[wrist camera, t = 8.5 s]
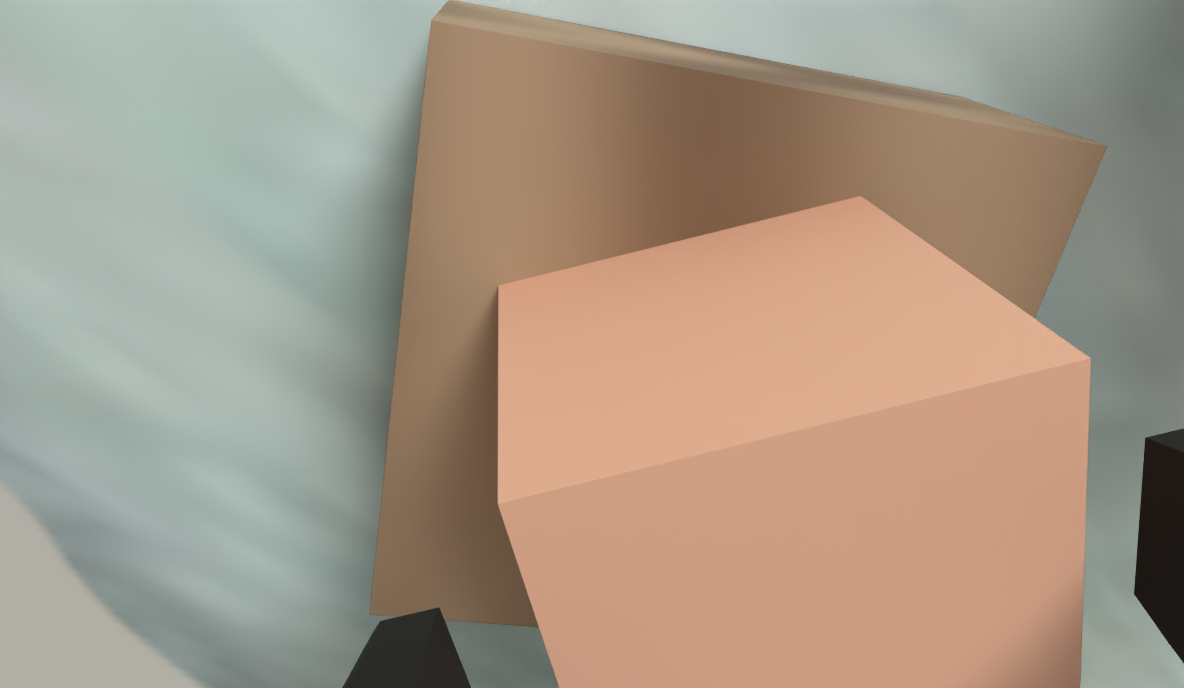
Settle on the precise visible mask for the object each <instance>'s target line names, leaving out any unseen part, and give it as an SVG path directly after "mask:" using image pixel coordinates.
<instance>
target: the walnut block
mask: <svg viewBox="0 0 1184 688" xmlns="http://www.w3.org/2000/svg"><path fill="white" fill-rule="evenodd" d="M1106 148H1107V146H1105V145H1102V144H1099V143H1096V142H1093V141H1090V140H1087V139H1085V138H1082V137H1079V136H1076V135H1073V134H1070V133H1067V132H1064V131H1061V130H1058V129H1055V128H1052V127H1049V126H1046V125H1043V124H1040V123H1037V122H1034V121H1031V120H1028V119H1025V118H1022V117H1019V116H1016V115H1013V114H1010V113H1008V112H1005V111H1002V110H999V109H996V108H993V107H990V106H987V105H984V104H981V103H978V102H975V101H972V100H969V99H966V98H963V97H958V96H952V95H947V94H942V93H937V92H931V91H926V90H921V89H916V88H910V87H905V86H900V85H895V84H889V83H884V82H879V81H874V80H868V79H863V78H858V77H853V76H847V75H842V74H837V73H832V72H826V71H821V70H816V69H811V68H806V67H800V66H795V65H790V64H785V63H779V62H774V61H769V60H764V59H758V58H753V57H748V56H743V55H737V54H732V53H727V52H722V51H716V50H711V49H706V48H701V47H695V46H690V45H685V44H680V43H674V42H669V41H664V40H659V39H653V38H648V37H643V36H638V35H632V34H627V33H622V32H617V31H611V30H606V29H601V28H596V27H590V26H585V25H580V24H575V23H570V22H564V21H559V20H554V19H549V18H543V17H538V16H533V15H528V14H522V13H517V12H512V11H507V10H501V9H496V8H491V7H486V6H480V5H475V4H470V3H465V2H459V1H454V0H448V2H447V3H446V4H445V5H444V6H443V7H442V9H441V10H440V11H439V12H438V13H437V14H436V16H435V17H434V18H433V19H432V20H431V29H430V38H429V48H428V58H427V67H426V77H425V86H424V96H423V105H422V115H421V125H420V134H419V144H418V153H417V163H416V173H415V182H414V192H413V201H412V211H411V221H410V230H409V240H408V249H407V259H406V269H405V278H404V288H403V297H402V307H401V317H400V326H399V336H398V345H397V355H396V365H395V374H394V384H393V393H392V403H391V413H390V422H389V432H388V441H387V451H386V461H385V470H384V480H383V489H382V499H381V509H380V518H379V528H378V537H377V547H376V556H375V566H374V576H373V585H372V595H371V604H370V615H384V616H397V617H400V616H404V615H409V614H413V613H417V612H421V611H425V610H429V609H434V608H438V607H439V608H440V610H441V613H442V615H443V618H444V620H451V621H464V622H478V623H491V624H505V625H518V626H532V627H539V626H538V623H537V620H536V617H535V614H534V611H533V608H532V605H531V602H530V599H529V596H528V593H527V590H526V587H525V584H524V581H523V578H522V575H521V572H520V569H519V566H518V563H517V560H516V557H515V554H514V551H513V548H512V545H511V542H510V539H509V536H508V533H507V530H506V527H505V524H504V521H503V518H502V515H501V512H500V509H499V506H498V286H499V285H503V284H507V283H511V282H515V281H519V280H523V279H527V278H531V277H535V276H540V275H544V274H548V273H552V272H556V271H560V270H564V269H568V268H572V267H576V266H580V265H584V264H588V263H592V262H596V261H600V260H604V259H608V258H612V257H616V256H620V255H624V254H628V253H632V252H636V251H640V250H645V249H649V248H653V247H657V246H661V245H665V244H669V243H673V242H677V241H681V240H685V239H689V238H693V237H697V236H701V235H705V234H709V233H713V232H717V231H721V230H725V229H729V228H733V227H737V226H741V225H745V224H750V223H754V222H758V221H762V220H766V219H770V218H774V217H778V216H782V215H786V214H790V213H794V212H798V211H802V210H806V209H810V208H814V207H818V206H822V205H826V204H830V203H834V202H838V201H842V200H846V199H851V198H855V197H859V196H862V197H863V198H864V199H866V200H867V201H869V202H870V203H872V204H873V205H874V206H876V207H877V208H879V209H880V210H881V211H883V212H884V213H886V214H887V215H889V216H890V217H891V218H893V219H894V220H896V221H897V222H898V223H900V224H901V225H903V226H904V227H906V228H907V229H908V230H910V231H911V232H913V233H914V234H915V235H917V236H918V237H920V238H921V239H923V240H924V241H925V242H927V243H928V244H930V245H931V246H933V247H934V248H935V249H937V250H938V251H940V252H941V253H942V254H944V255H945V256H947V257H948V258H950V259H951V260H952V261H954V262H955V263H957V264H958V265H959V266H961V267H962V268H964V269H965V270H967V271H968V272H969V273H971V274H972V275H974V276H975V277H976V278H978V279H979V280H981V281H982V282H984V283H985V284H986V285H988V286H989V287H991V288H992V289H993V290H995V291H996V292H998V293H999V294H1001V295H1002V296H1003V297H1005V298H1006V299H1008V300H1009V301H1010V302H1012V303H1013V304H1015V305H1016V306H1018V307H1019V308H1020V309H1022V310H1023V311H1025V312H1026V313H1027V314H1029V315H1030V316H1032V317H1033V318H1035V316H1036V313H1037V311H1038V309H1039V306H1040V304H1041V302H1042V299H1043V297H1044V294H1045V292H1046V290H1047V287H1048V285H1049V283H1050V280H1051V278H1052V276H1053V273H1054V271H1055V269H1056V266H1057V264H1058V261H1059V259H1060V257H1061V254H1062V252H1063V250H1064V247H1065V245H1066V243H1067V240H1068V238H1069V236H1070V233H1071V231H1072V228H1073V226H1074V224H1075V221H1076V219H1077V217H1078V214H1079V212H1080V210H1081V207H1082V205H1083V203H1084V200H1085V198H1086V195H1087V193H1088V191H1089V188H1090V186H1091V184H1092V181H1093V179H1094V177H1095V174H1096V172H1097V170H1098V167H1099V165H1100V162H1101V160H1102V158H1103V155H1104V153H1105V151H1106Z"/></svg>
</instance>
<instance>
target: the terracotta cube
mask: <svg viewBox="0 0 1184 688" xmlns="http://www.w3.org/2000/svg"><path fill="white" fill-rule="evenodd" d="M1090 371H1091V358H1090V357H1088V356H1087V355H1086V354H1084V353H1083V352H1081V351H1080V350H1078V349H1077V348H1076V347H1074V346H1073V345H1071V344H1070V343H1069V342H1067V341H1066V340H1064V339H1063V338H1061V337H1060V336H1059V335H1057V334H1056V333H1054V332H1053V331H1052V330H1050V329H1049V328H1047V327H1046V326H1044V325H1043V324H1042V323H1040V322H1039V321H1037V320H1036V319H1035V318H1033V317H1032V316H1030V315H1029V314H1027V313H1026V312H1025V311H1023V310H1022V309H1020V308H1019V307H1018V306H1016V305H1015V304H1013V303H1012V302H1010V301H1009V300H1008V299H1006V298H1005V297H1003V296H1002V295H1001V294H999V293H998V292H996V291H995V290H993V289H992V288H991V287H989V286H988V285H986V284H985V283H984V282H982V281H981V280H979V279H978V278H976V277H975V276H974V275H972V274H971V273H969V272H968V271H967V270H965V269H964V268H962V267H961V266H959V265H958V264H957V263H955V262H954V261H952V260H951V259H950V258H948V257H947V256H945V255H944V254H942V253H941V252H940V251H938V250H937V249H935V248H934V247H933V246H931V245H930V244H928V243H927V242H925V241H924V240H923V239H921V238H920V237H918V236H917V235H915V234H914V233H913V232H911V231H910V230H908V229H907V228H906V227H904V226H903V225H901V224H900V223H898V222H897V221H896V220H894V219H893V218H891V217H890V216H889V215H887V214H886V213H884V212H883V211H881V210H880V209H879V208H877V207H876V206H874V205H873V204H872V203H870V202H869V201H867V200H866V199H864V198H863V197H862V196H859V197H855V198H851V199H846V200H842V201H838V202H834V203H830V204H826V205H822V206H818V207H814V208H810V209H806V210H802V211H798V212H794V213H790V214H786V215H782V216H778V217H774V218H770V219H766V220H762V221H758V222H754V223H750V224H745V225H741V226H737V227H733V228H729V229H725V230H721V231H717V232H713V233H709V234H705V235H701V236H697V237H693V238H689V239H685V240H681V241H677V242H673V243H669V244H665V245H661V246H657V247H653V248H649V249H645V250H640V251H636V252H632V253H628V254H624V255H620V256H616V257H612V258H608V259H604V260H600V261H596V262H592V263H588V264H584V265H580V266H576V267H572V268H568V269H564V270H560V271H556V272H552V273H548V274H544V275H540V276H535V277H531V278H527V279H523V280H519V281H515V282H511V283H507V284H503V285H499V286H498V506H499V509H500V512H501V515H502V518H503V521H504V524H505V527H506V530H507V533H508V536H509V539H510V542H511V545H512V548H513V551H514V554H515V557H516V560H517V563H518V566H519V569H520V572H521V575H522V578H523V581H524V584H525V587H526V590H527V593H528V596H529V599H530V602H531V605H532V608H533V611H534V614H535V617H536V620H537V623H538V626H539V629H540V632H541V635H542V638H543V641H544V644H545V647H546V650H547V653H548V656H549V659H550V662H551V665H552V668H553V671H554V674H555V677H556V680H557V683H558V686H559V688H1080V679H1081V648H1082V617H1083V587H1084V556H1085V525H1086V494H1087V463H1088V432H1089V401H1090Z"/></svg>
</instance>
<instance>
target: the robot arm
mask: <svg viewBox="0 0 1184 688" xmlns="http://www.w3.org/2000/svg"><path fill="white" fill-rule="evenodd" d="M1134 594H1135V596H1136V597H1137V599H1138V600H1139V602H1140V603H1141V604H1142V606H1143V607H1144V609H1145V610H1146V611H1147V613H1148V614H1149V616H1150V617H1151V619H1152V620H1153V621H1154V623H1155V624H1156V626H1157V627H1158V629H1159V630H1160V631H1161V633H1162V634H1163V636H1164V637H1165V638H1166V640H1167V641H1168V643H1169V644H1170V645H1171V647H1172V648H1173V649H1174V651H1175V652H1176V653H1177V655H1178V656H1179V657H1180V659H1181V660H1182V661H1183V663H1184V429H1180V430H1176V431H1171V432H1167V433H1163V434H1159V435H1155V436H1151V437H1146V438H1145V450H1144V464H1143V478H1142V492H1141V506H1140V520H1139V533H1138V547H1137V561H1136V575H1135V589H1134ZM343 688H471V687H470V684H469V682H468V679H467V676H466V674H465V671H464V669H463V666H462V664H461V661H460V659H459V656H458V653H457V651H456V648H455V646H454V643H453V641H452V638H451V636H450V633H449V631H448V628H447V625H446V623H445V620H444V618H443V615H442V613H441V610H440V608H439V607H438V608H434V609H429V610H425V611H421V612H417V613H413V614H409V615H404V616H400V617H396V618H392V619H388V620H384V621H380V623H379V624H378V626H377V627H376V629H375V630H374V632H373V633H372V635H371V637H370V639H369V641H368V642H367V644H366V646H365V648H364V649H363V651H362V653H361V655H360V657H359V658H358V660H357V662H356V664H355V666H354V668H353V669H352V671H351V673H350V675H349V677H348V679H347V680H346V682H345V684H344V686H343Z"/></svg>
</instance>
